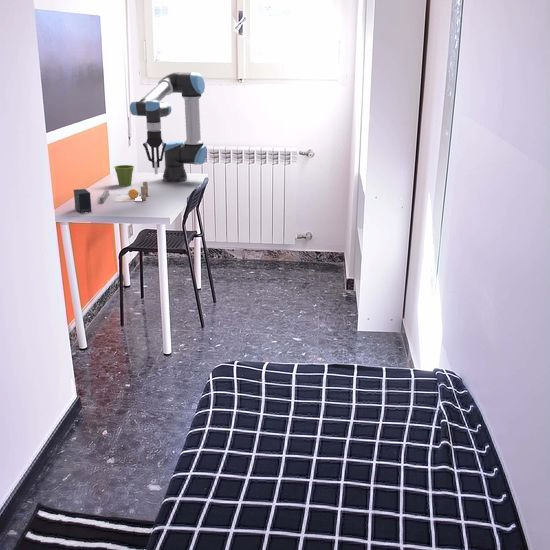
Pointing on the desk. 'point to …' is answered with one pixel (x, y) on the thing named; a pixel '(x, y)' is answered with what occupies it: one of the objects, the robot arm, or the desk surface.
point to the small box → (82, 200)
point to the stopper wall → (104, 196)
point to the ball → (133, 193)
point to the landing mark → (124, 199)
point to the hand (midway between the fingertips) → (156, 173)
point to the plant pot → (124, 174)
